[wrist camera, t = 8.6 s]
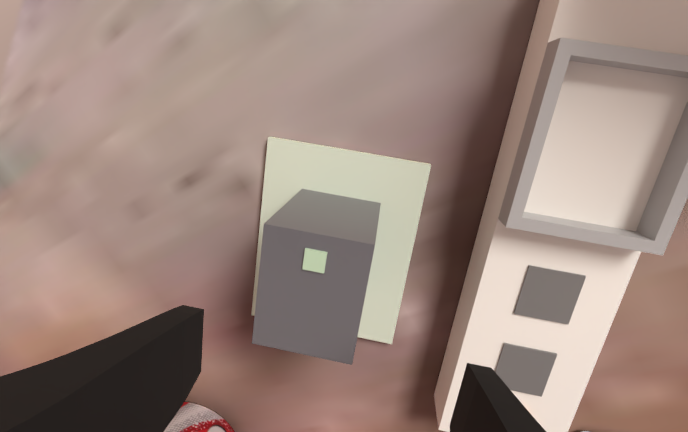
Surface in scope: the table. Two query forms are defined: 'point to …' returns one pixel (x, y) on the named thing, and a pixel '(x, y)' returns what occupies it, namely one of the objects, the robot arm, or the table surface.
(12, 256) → the table surface
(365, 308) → the sage mat
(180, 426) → the soda can
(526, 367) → the white block grey frame
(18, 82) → the table surface
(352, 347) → the charger
